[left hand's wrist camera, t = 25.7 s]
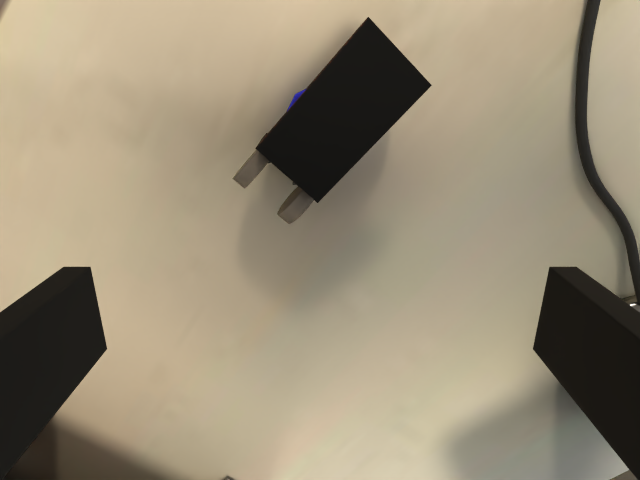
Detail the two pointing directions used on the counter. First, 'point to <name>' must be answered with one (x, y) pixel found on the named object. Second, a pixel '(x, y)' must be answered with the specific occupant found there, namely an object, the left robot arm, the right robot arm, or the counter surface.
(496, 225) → the counter surface
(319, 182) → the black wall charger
